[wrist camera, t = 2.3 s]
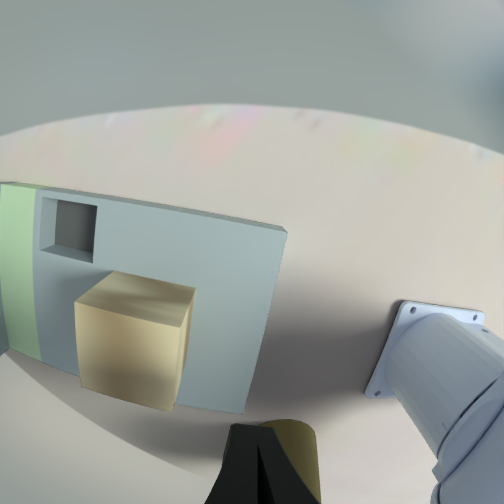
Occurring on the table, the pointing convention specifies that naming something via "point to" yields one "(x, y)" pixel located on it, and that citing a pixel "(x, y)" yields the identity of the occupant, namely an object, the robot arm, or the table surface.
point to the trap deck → (141, 264)
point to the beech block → (134, 338)
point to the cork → (300, 450)
